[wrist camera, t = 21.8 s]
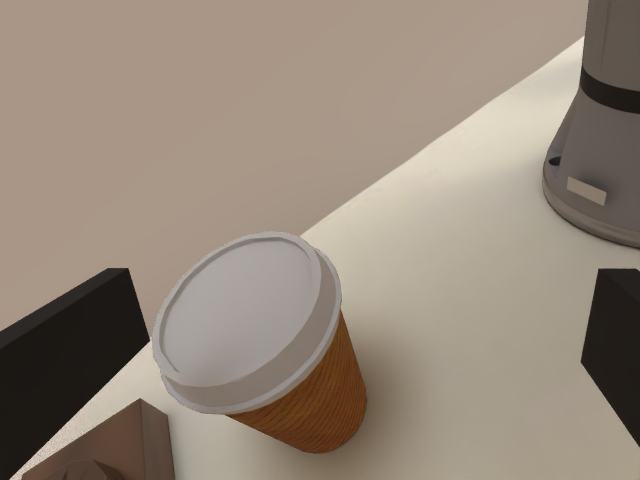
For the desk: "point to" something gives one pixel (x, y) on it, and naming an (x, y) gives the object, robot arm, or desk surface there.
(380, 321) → the desk surface
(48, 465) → the console
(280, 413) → the disposable coffee cup
